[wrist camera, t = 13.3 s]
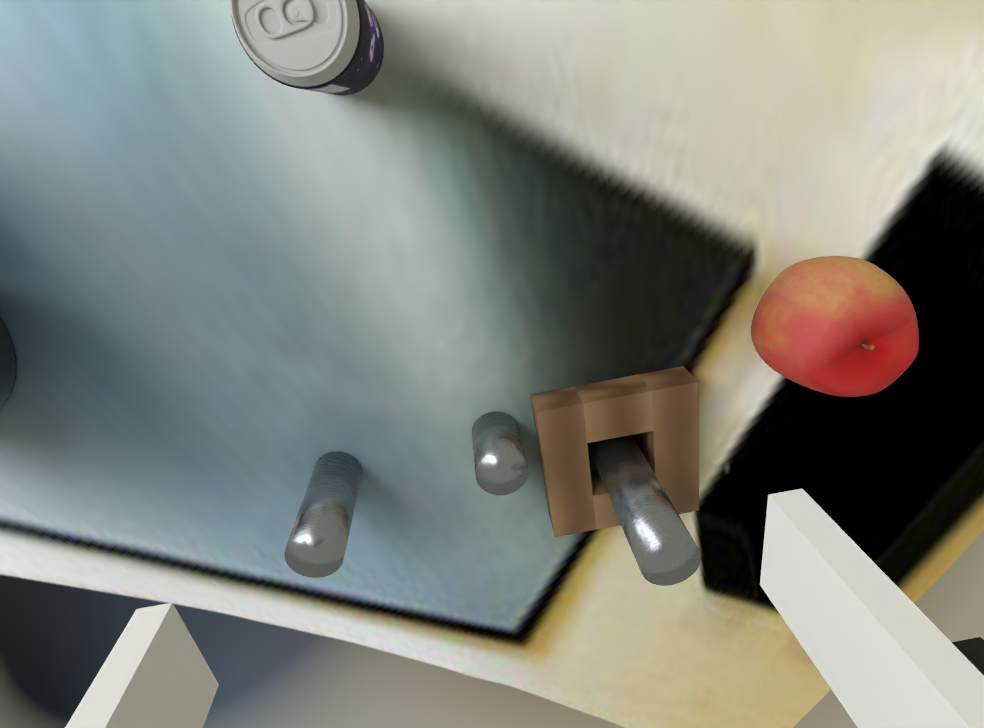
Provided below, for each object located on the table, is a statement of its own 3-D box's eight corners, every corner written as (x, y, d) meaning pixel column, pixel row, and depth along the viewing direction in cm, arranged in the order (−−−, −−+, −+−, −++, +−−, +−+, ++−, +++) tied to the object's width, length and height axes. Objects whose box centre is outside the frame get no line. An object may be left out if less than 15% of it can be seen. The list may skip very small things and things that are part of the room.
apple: (865, 299, 44) (973, 347, 35) (769, 377, 47) (848, 441, 38) (804, 217, 41) (906, 246, 32) (704, 305, 43) (773, 356, 34)
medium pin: (322, 493, 48) (294, 581, 39) (308, 456, 46) (276, 539, 37) (366, 485, 48) (350, 571, 39) (355, 448, 46) (334, 529, 37)
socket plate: (549, 514, 51) (555, 537, 48) (530, 394, 45) (536, 412, 43) (685, 489, 51) (698, 510, 48) (683, 366, 45) (698, 382, 43)
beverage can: (398, 78, 35) (378, 62, 24) (317, 108, 35) (260, 105, 24) (363, -24, 33) (322, -93, 22) (275, 9, 33) (192, -42, 22)
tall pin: (591, 467, 49) (642, 590, 36) (587, 430, 47) (639, 545, 35) (634, 459, 49) (700, 579, 36) (632, 421, 47) (700, 534, 35)
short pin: (476, 455, 48) (480, 499, 42) (468, 416, 46) (471, 457, 40) (521, 446, 48) (531, 489, 42) (514, 407, 46) (524, 447, 40)
